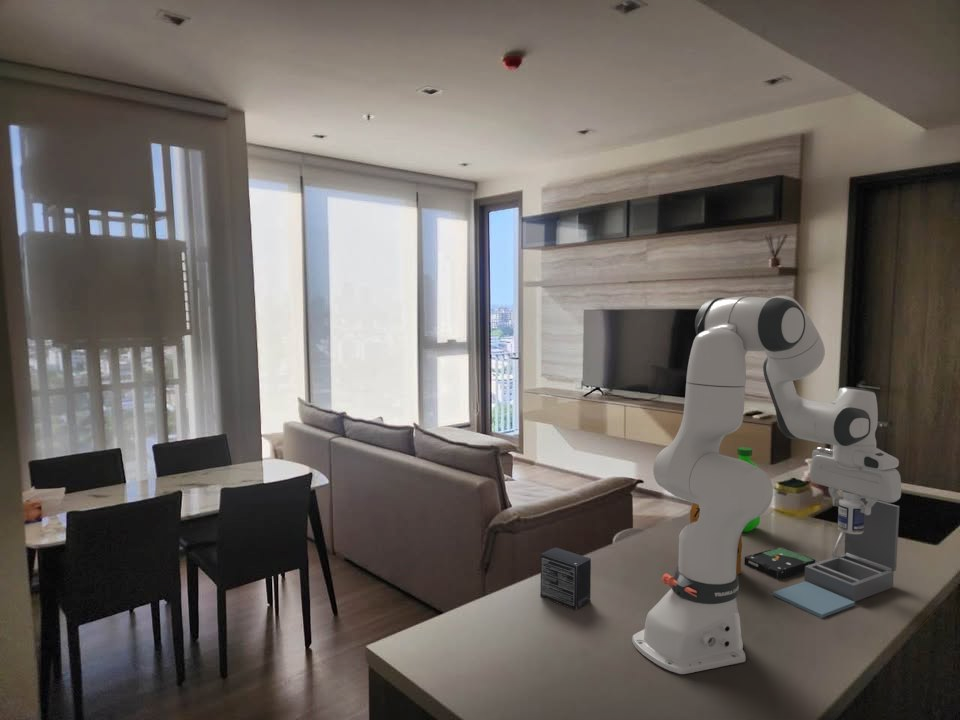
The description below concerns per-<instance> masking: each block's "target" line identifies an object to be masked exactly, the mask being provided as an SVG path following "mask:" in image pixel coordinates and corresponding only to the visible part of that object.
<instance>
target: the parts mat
mask: <svg viewBox="0 0 960 720" xmlns="http://www.w3.org/2000/svg"><path fill="white" fill-rule="evenodd" d="M772 596H774V597H775V598H778V599H780V600H782V601H784V602H787V603H789V604H791V605H793V606H795V607H797V608H799V609H801V610H803V611H805V612H808V613H810V614H812V615H814V616H816V617H819V618H820V619H822V618H826V617H829V616H831V615H833V614H836V613H839V612H841V611H844V610H846V609H850V608H852V607H854V606H855V604H856V602H854V601H851V600H849V599H847V598H844V597H842V596H839V595H837V594H835V593H832V592H830V591H828V590H825V589H823V588H821V587H818V586H816V585H813V584H811V583H809V582H806V581H805V582H804V581H802V582H799V583H796V584H793V585H790V586H787V587H784V588H781V589H778V590H776V591H773V592H772Z"/></svg>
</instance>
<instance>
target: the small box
mask: <svg viewBox="0 0 960 720" xmlns="http://www.w3.org/2000/svg"><path fill="white" fill-rule="evenodd" d="M539 556H540V597H541V598H543V599H546V598H547V600H549V601H552V602H554V601H555V602H554V603H557V602H558V603H557V604H559V603H560V604H559V605H562V606H564V605H565V607H567V606H568V607H567V608H569V607H570V609H572V608H573V609H572V610H574V609H575V610H574V611H577V610H580V608H582V607H583V606H585V605H586V604H588V603H590V602H591V585H592V583H591V575H592V574H591V573H592V571H591V569H592V567H591V566H592V558H591V557H587V556H584V555H582V554H579V553H574V552H571V551H568V550H565V549H562V548H559V547H553V548H552V547H551V549H548V550H546V551H544V552H542V553H540V555H539Z"/></svg>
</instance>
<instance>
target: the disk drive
mask: <svg viewBox="0 0 960 720" xmlns="http://www.w3.org/2000/svg"><path fill="white" fill-rule="evenodd" d="M743 561H744V566H746V567H749V568H752V569H753V570H755V569H756V571H758V572H760V573H763V574H764V573H765V574H764V575H766V574H767V576H768V577H772V578H774V579H776V580H780V579H784V578H786V577H790V576H794V575H796V574H800V573H803V571H804V572H805V566H807V565H810V564H814V563H816V559H814V558H812V557H809V556H807V555H803V554H802V553H799V552H795V551H793V550H792V551H791V550H788V549H786V547H784V546H783V547H775V548H771V549H769V550H768V549H767V550H764V551H761V552H757V553H753V554H750V555H746V556H744V560H743Z"/></svg>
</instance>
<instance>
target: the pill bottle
mask: <svg viewBox="0 0 960 720" xmlns="http://www.w3.org/2000/svg"><path fill="white" fill-rule="evenodd" d="M841 491H842V490H841ZM841 497H842V498H840V500H839V507H837V508H838V509H837V512H838V513H837V514H838V515H837V530H839V532H840V531H842V532H844V533H848V534H862V533H863V531H864V514H861V513H860V511H861V506H865V505H864V503H863V502H862V501H860V499H861V498H862V496H861V495H857V494H854V493H850V492H846V491H842V496H841Z"/></svg>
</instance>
